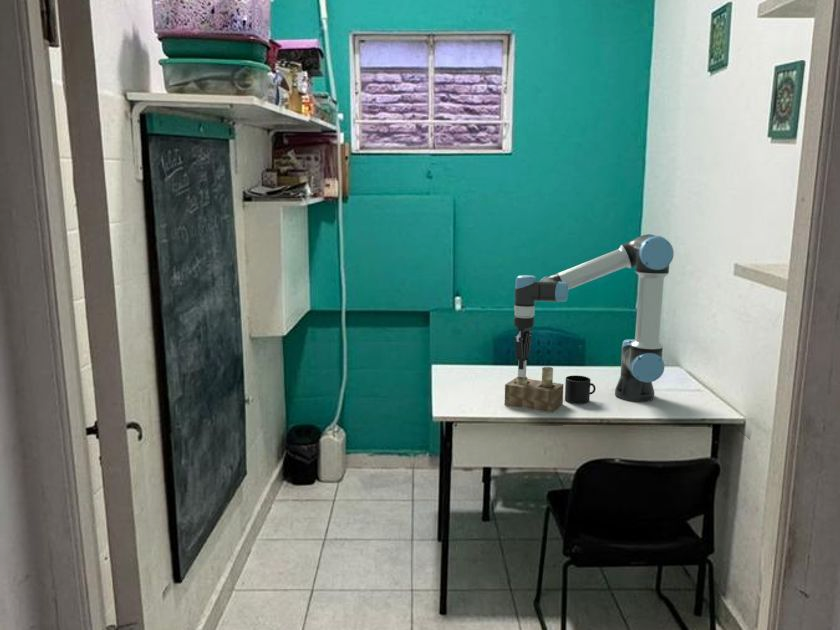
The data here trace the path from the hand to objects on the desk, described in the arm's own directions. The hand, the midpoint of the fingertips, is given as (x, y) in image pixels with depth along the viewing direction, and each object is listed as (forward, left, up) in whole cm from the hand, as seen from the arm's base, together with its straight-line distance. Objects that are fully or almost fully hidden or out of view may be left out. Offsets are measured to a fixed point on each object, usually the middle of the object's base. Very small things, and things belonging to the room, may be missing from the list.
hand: (521, 376), depth 267 cm
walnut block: (-5, 0, -10) cm, 11 cm away
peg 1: (0, 0, -8) cm, 8 cm away
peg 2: (-10, 0, -3) cm, 11 cm away
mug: (-19, -14, -11) cm, 26 cm away
